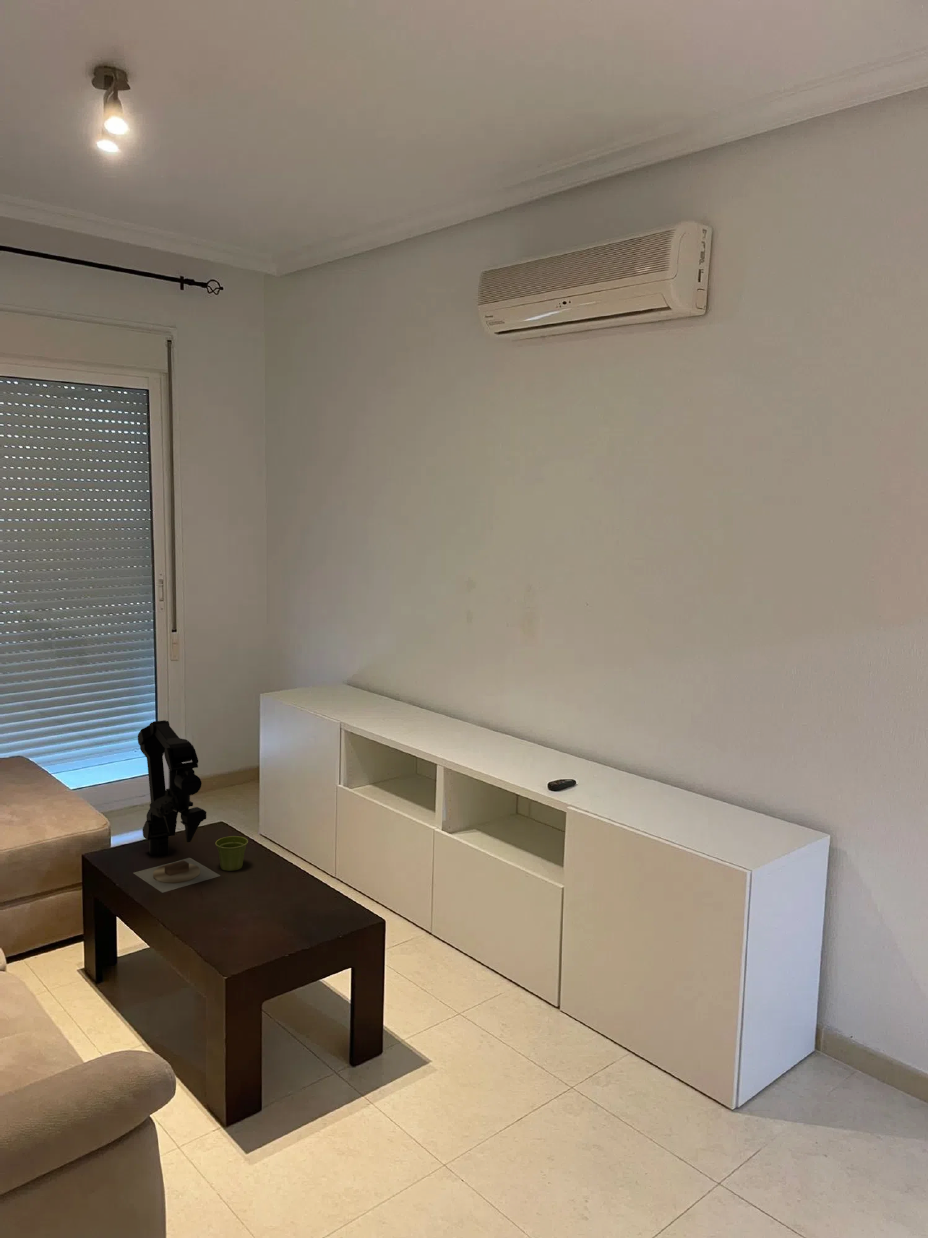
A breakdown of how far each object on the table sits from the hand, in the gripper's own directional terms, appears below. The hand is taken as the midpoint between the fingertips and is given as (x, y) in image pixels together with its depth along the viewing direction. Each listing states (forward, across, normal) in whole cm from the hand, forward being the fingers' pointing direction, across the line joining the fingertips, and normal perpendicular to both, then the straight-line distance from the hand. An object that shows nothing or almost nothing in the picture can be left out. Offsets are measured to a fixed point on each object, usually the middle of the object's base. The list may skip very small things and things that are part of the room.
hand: (179, 837), depth 261 cm
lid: (+11, -1, -1) cm, 11 cm away
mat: (+12, -1, -1) cm, 12 cm away
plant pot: (+12, +6, +14) cm, 19 cm away
